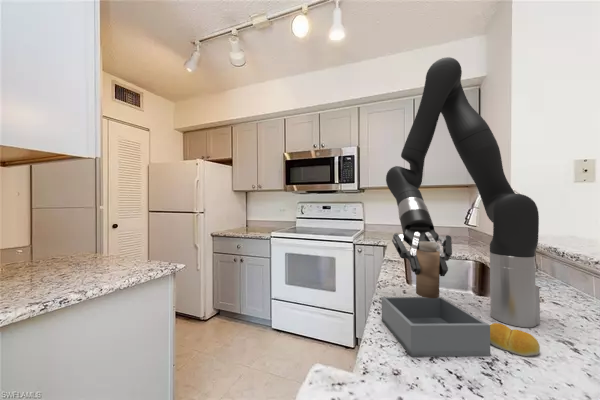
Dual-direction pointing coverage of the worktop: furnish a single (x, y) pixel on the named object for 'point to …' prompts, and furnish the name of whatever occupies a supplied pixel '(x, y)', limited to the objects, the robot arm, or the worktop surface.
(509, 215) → the robot arm
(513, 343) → the bread roll
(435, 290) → the pepper mill
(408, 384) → the worktop surface
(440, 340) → the bin
